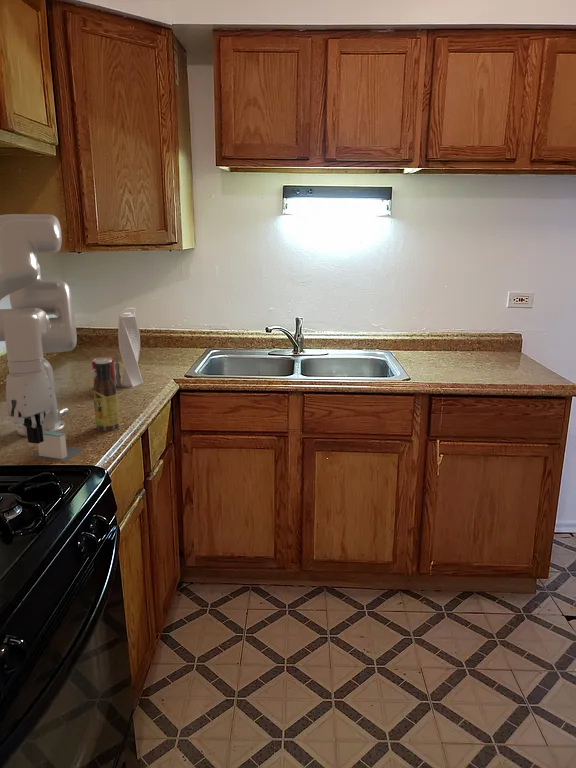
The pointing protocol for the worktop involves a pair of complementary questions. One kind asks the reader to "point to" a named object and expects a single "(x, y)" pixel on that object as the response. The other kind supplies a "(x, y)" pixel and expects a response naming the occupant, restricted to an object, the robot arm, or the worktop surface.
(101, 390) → the sauce bottle
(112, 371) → the soda can
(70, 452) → the rubber mat
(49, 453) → the cream tile
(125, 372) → the skyscraper
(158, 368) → the worktop surface
